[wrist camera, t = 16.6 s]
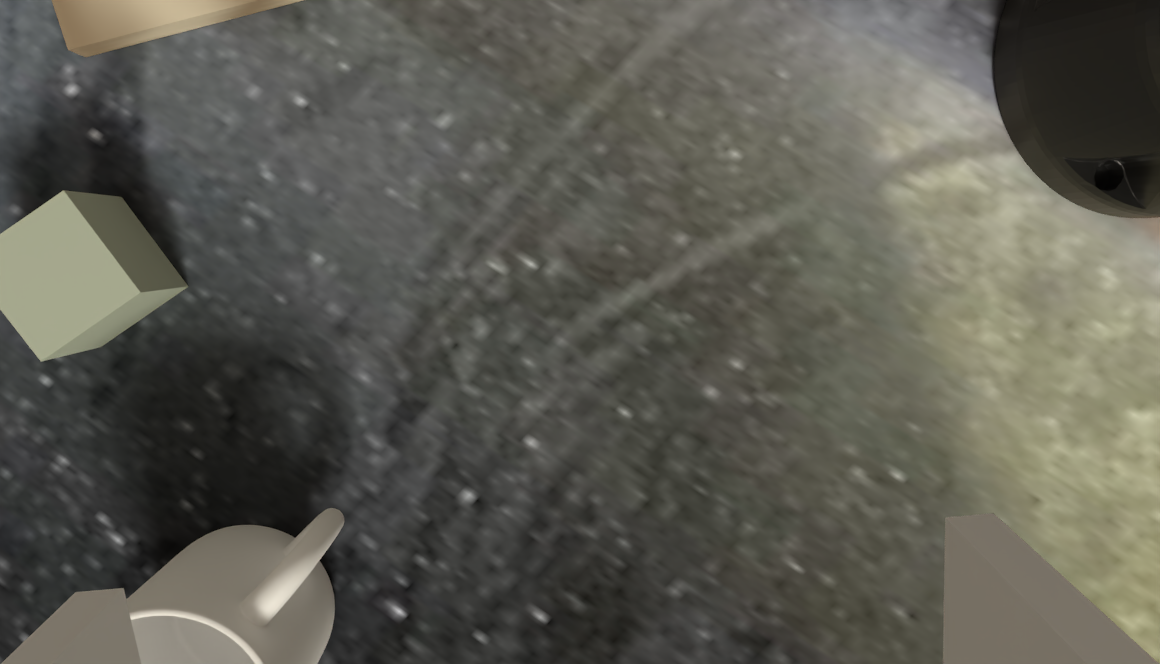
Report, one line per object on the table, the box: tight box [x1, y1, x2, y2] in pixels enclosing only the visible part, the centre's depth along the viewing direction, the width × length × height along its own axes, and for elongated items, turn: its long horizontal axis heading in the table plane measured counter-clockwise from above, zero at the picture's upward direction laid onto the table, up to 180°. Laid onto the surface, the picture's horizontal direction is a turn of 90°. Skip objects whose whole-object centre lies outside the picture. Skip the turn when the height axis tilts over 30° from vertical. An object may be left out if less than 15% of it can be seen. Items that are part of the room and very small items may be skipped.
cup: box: [126, 508, 344, 664], centre depth 37 cm, size 8×12×10 cm
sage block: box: [0, 190, 188, 361], centre depth 37 cm, size 5×5×5 cm
